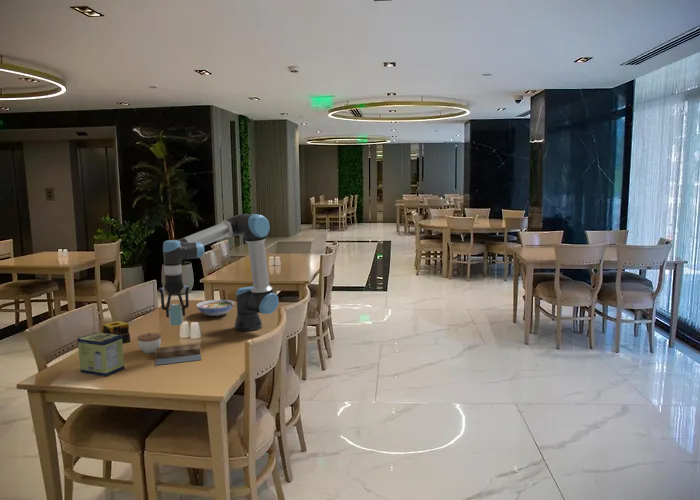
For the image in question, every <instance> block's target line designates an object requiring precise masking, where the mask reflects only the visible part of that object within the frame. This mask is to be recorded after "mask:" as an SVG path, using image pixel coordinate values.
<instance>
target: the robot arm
mask: <svg viewBox="0 0 700 500" xmlns="http://www.w3.org/2000/svg"><path fill="white" fill-rule="evenodd" d="M270 227H271V226H270V222H269V220H268V218H267V217H265V216H264V215H262V214H257V213H239V214H237V215H233V216H231V217H228V218H227V219H226V218H225V219H223V220H222V221H221V222H220V223H218V224H215V225H213V226H210V227H209V228H206V229H203V230H200V231H197V232H195V233H192V234H190V235H188V236H185V237H182V238H179V239H172V240H171V239H170V240H165V241H163V245H162V253H163V254H162V255H163V269H164V274H165V275H164V286H162V287H159V288H158V292H159V293H160V299H161V301H160V304H161V305H160V306H161V310H163V311H165V313H166V314H165V315H166V318H168V322H169V325H170V326H171V314H170V304H171V300H172V295H177V296H178V300H179V304H180V309H181V324H183V323H184V317H185V316H186V309H188V308H189V307H190V306H189V304H190V303H189V290H190V286H189V285H184V283H183V274H182V272H183V271H182V269H183V268H182V266H183V265H182V261H183V260H191V259H199V258H203V256H204V255H205V246H206V245H210V244H212V243H214V242H215V243H216V242H218V241H219V240H221V239H224V238H231V237H235V236H236V237H237V236H243V238H244V242H245V243H246V244H247V249H248V256H249V263H250V269H251V270H250V272H251V278H252V286H245V287H244V286H243V287H240V288H237V290H236V292H235V293H236V295H235V296H236V313H237V314H236V317H235V322H234V330H236V331H239V332H252V331H256V330H257V331H258V330H260V329H262V327H263V323H262V320H261V319H262V318H260V314H262V315H269V314H272V313H274V312H275V311H276V309H277V308H278V306H279V296H278V295H277V294H276V293H275V292H274V288H273V286H271V285H270V279H269V278H270V277H269V271H268V262H267V254H266V247H265V246H266V245H265V242H266V240H267V236H268V234H269V232H270V229H271V228H270ZM165 290H166V292H168V297H167V301H166V306H165V295H164V293H165ZM182 290H184V292H185V295H184V296H185V304H184V300H183V297H182V294H181V291H182ZM259 313H260V314H259Z"/></svg>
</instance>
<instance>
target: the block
mask: <svg viewBox="0 0 700 500" xmlns="http://www.w3.org/2000/svg"><path fill="white" fill-rule="evenodd" d="M169 309H170V314H171V324H170V326H172V327H173V326H182V323H181V303H172V304H171V303H170V305H169Z"/></svg>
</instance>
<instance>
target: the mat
mask: <svg viewBox="0 0 700 500" xmlns="http://www.w3.org/2000/svg"><path fill="white" fill-rule="evenodd" d="M198 361H202V354H201V353H200V354H197V355H189V356H180V357H172V358H163V359H156V358H155V367H156V366H164V365H173V364H182V363H189V362H190V363H191V362H198Z"/></svg>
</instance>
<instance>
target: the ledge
mask: <svg viewBox="0 0 700 500" xmlns="http://www.w3.org/2000/svg"><path fill="white" fill-rule="evenodd" d="M197 354H201V345H200V343H191V344H183V345H182V344H181V345H174V346H173V345H171V346H165V347H159V348H156V352H155V360H156V359H163V358H172V357H180V356H189V355H197Z"/></svg>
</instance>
